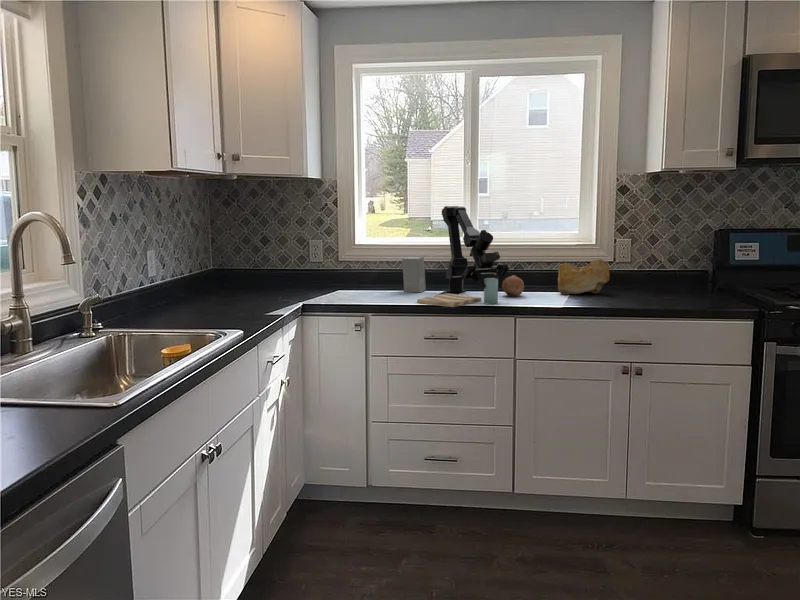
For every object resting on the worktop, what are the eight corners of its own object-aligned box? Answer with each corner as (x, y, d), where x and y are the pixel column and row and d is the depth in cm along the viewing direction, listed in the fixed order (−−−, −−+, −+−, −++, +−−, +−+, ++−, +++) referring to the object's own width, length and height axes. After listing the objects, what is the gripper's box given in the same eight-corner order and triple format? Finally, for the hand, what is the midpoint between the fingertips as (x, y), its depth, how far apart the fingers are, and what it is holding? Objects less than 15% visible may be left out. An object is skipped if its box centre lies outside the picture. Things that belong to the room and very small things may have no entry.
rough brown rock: (597, 291, 309) (596, 258, 307) (613, 293, 292) (612, 259, 291) (548, 294, 306) (547, 261, 305) (562, 296, 289) (561, 261, 288)
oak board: (446, 296, 290) (446, 293, 289) (481, 300, 278) (481, 297, 278) (417, 302, 275) (417, 299, 274) (452, 307, 263) (452, 303, 263)
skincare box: (425, 291, 306) (425, 256, 304) (417, 293, 300) (417, 258, 298) (410, 289, 311) (410, 256, 308) (402, 291, 305) (401, 257, 302)
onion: (512, 301, 295) (515, 280, 298) (527, 298, 287) (530, 276, 290) (496, 295, 290) (499, 273, 293) (510, 291, 283) (513, 269, 285)
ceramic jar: (488, 301, 276) (489, 277, 275) (500, 302, 273) (500, 278, 271) (481, 303, 272) (481, 278, 271) (492, 304, 269) (493, 280, 267)
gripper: (466, 246, 269) (478, 276, 261) (507, 244, 276) (520, 274, 267) (458, 263, 278) (469, 293, 269) (497, 261, 284) (510, 290, 276)
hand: (492, 287), depth 270 cm, fingers open, 7 cm apart
